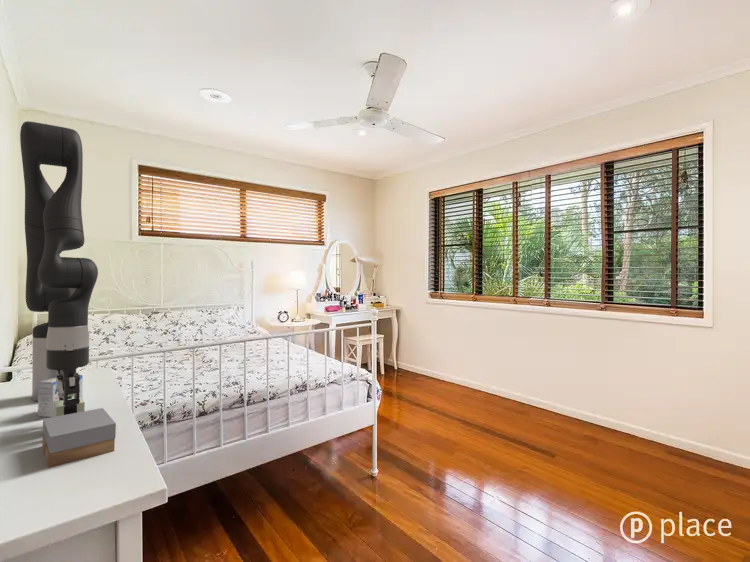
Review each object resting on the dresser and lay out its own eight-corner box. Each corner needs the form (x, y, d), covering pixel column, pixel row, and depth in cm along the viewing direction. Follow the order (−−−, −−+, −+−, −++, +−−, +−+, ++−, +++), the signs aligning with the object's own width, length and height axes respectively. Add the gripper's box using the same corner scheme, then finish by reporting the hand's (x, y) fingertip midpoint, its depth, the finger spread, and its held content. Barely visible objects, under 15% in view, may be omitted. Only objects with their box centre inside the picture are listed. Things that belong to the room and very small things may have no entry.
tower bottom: (42, 448, 78) (42, 434, 78) (102, 435, 85) (102, 421, 85) (48, 470, 69) (48, 454, 69) (114, 453, 76) (114, 438, 76)
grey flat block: (42, 433, 78) (43, 418, 78) (102, 421, 85) (102, 407, 85) (49, 453, 69) (50, 437, 69) (115, 438, 77) (115, 423, 77)
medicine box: (52, 418, 93) (52, 382, 93) (37, 416, 94) (37, 381, 94) (83, 407, 100) (83, 374, 100) (69, 406, 101) (69, 373, 101)
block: (53, 427, 87) (53, 401, 87) (80, 422, 91) (81, 397, 91) (55, 434, 84) (55, 407, 84) (84, 428, 87) (84, 402, 87)
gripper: (43, 343, 89) (43, 413, 89) (49, 352, 79) (49, 431, 79) (84, 340, 94) (83, 406, 94) (94, 348, 84) (93, 422, 84)
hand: (67, 417), depth 87 cm, fingers open, 8 cm apart
